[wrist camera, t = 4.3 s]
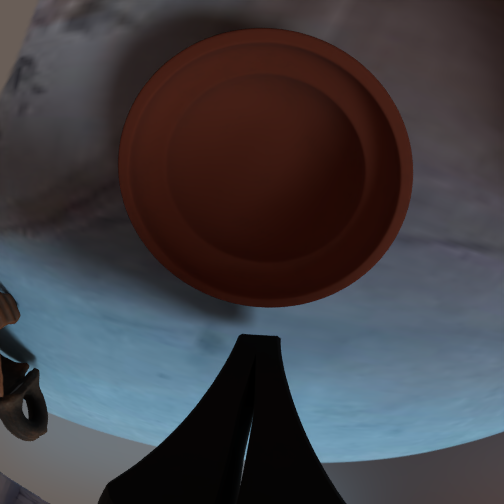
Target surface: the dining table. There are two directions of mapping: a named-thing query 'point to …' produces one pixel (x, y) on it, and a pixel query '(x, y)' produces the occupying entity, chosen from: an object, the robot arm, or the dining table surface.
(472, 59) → the dining table surface
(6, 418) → the broken clay jug rim
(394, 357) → the dining table surface
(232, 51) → the pottery
